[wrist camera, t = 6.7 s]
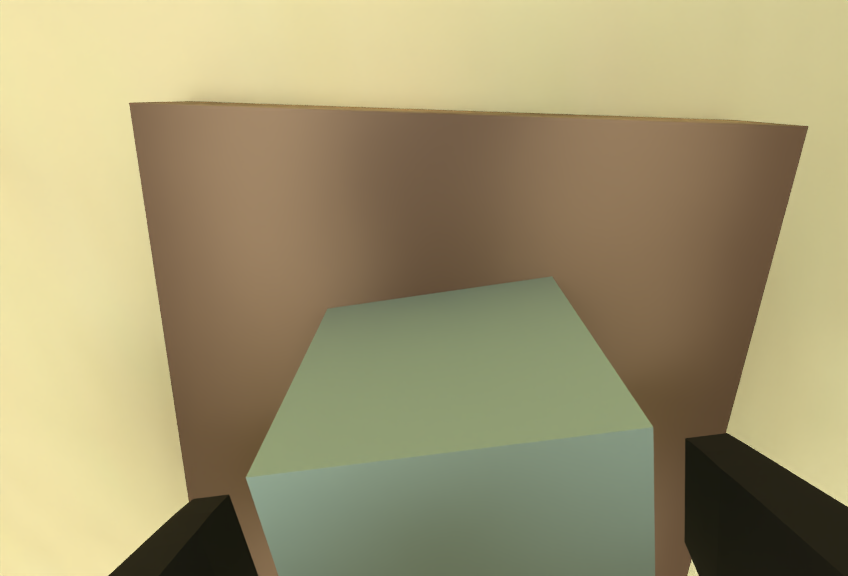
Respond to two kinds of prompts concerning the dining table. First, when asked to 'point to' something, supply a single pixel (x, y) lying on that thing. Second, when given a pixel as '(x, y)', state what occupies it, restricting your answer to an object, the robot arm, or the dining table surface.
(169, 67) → the dining table surface
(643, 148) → the walnut box
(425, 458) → the sage block
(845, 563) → the robot arm
